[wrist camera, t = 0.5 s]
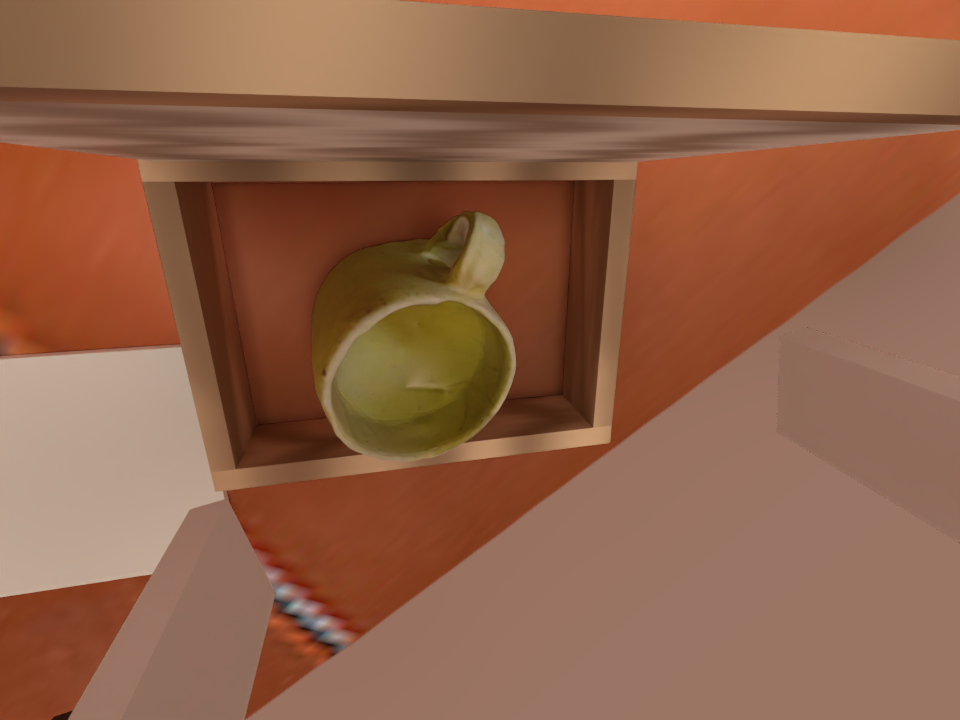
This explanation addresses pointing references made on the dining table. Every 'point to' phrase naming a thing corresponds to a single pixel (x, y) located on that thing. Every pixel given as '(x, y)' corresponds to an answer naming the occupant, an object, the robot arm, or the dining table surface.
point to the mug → (413, 342)
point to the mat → (95, 464)
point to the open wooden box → (428, 149)
